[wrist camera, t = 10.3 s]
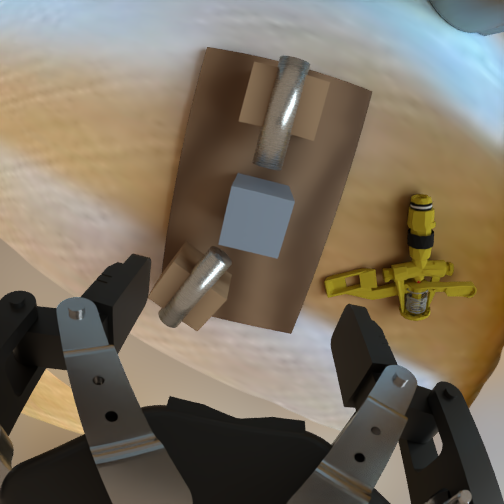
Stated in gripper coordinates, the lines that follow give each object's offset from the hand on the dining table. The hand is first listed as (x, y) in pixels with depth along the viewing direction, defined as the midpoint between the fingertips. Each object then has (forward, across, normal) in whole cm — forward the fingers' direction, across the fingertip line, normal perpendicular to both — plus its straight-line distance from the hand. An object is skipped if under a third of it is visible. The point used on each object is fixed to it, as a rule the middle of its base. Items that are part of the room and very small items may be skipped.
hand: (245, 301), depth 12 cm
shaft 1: (+16, +4, +9) cm, 19 cm away
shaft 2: (+16, 0, -8) cm, 18 cm away
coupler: (+19, 0, +1) cm, 19 cm away
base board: (+20, 0, +1) cm, 20 cm away
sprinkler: (+21, -18, +3) cm, 28 cm away
